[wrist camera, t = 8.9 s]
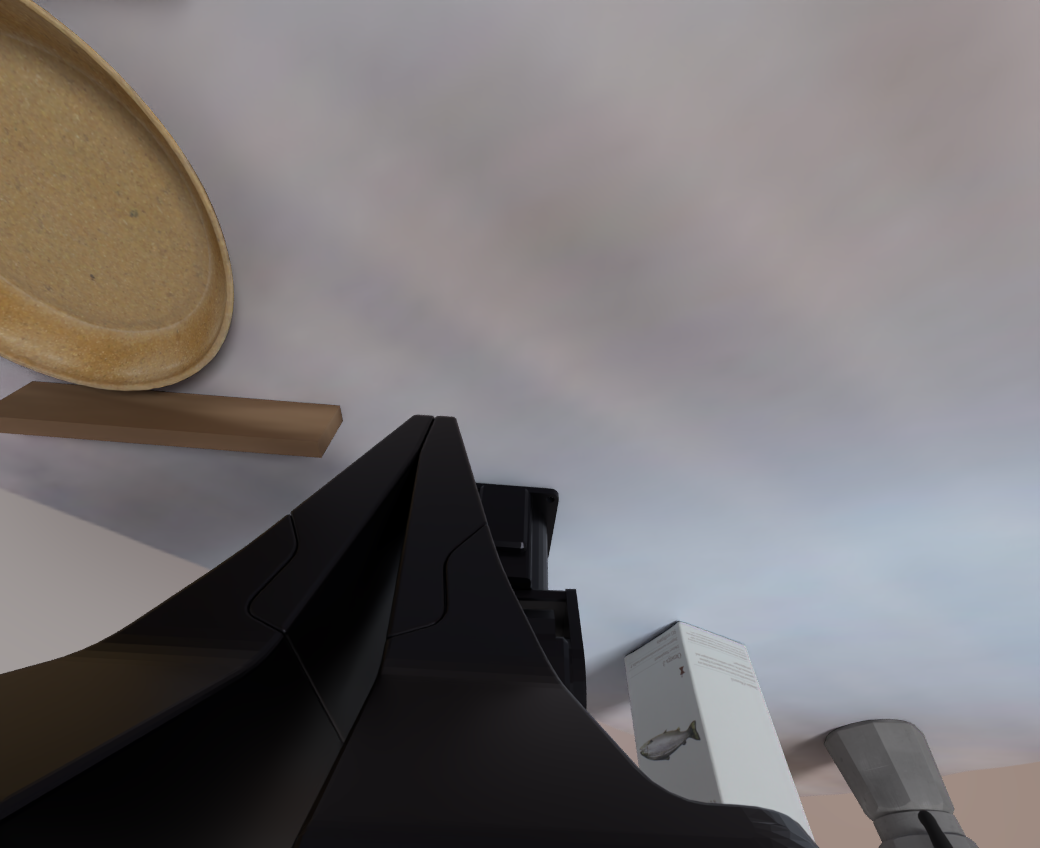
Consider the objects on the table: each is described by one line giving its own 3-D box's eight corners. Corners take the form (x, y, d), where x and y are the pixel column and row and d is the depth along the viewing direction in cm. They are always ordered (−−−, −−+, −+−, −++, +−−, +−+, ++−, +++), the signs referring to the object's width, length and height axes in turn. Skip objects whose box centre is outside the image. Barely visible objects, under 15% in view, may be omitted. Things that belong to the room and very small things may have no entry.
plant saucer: (74, -132, 13) (-16, -173, 11) (325, 331, 21) (302, 358, 19) (-274, 30, 15) (-400, 22, 13) (77, 386, 24) (32, 415, 22)
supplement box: (677, 617, 35) (732, 833, 25) (747, 644, 37) (824, 852, 27) (619, 655, 39) (647, 854, 29) (685, 677, 41) (732, 870, 31)
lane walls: (342, 420, 24) (321, 457, 22) (43, 396, 24) (-11, 431, 22) (219, -166, 12) (141, -226, 10) (-387, -226, 12) (-619, -303, 10)
